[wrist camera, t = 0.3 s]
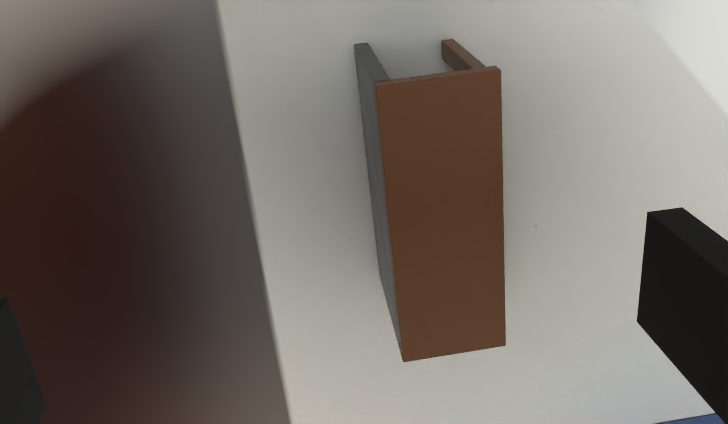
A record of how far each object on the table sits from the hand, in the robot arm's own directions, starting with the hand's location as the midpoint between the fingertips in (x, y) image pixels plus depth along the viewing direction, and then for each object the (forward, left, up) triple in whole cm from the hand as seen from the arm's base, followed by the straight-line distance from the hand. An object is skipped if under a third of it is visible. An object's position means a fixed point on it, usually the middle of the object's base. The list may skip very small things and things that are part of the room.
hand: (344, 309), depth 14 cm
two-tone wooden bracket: (+3, +4, -16) cm, 17 cm away
